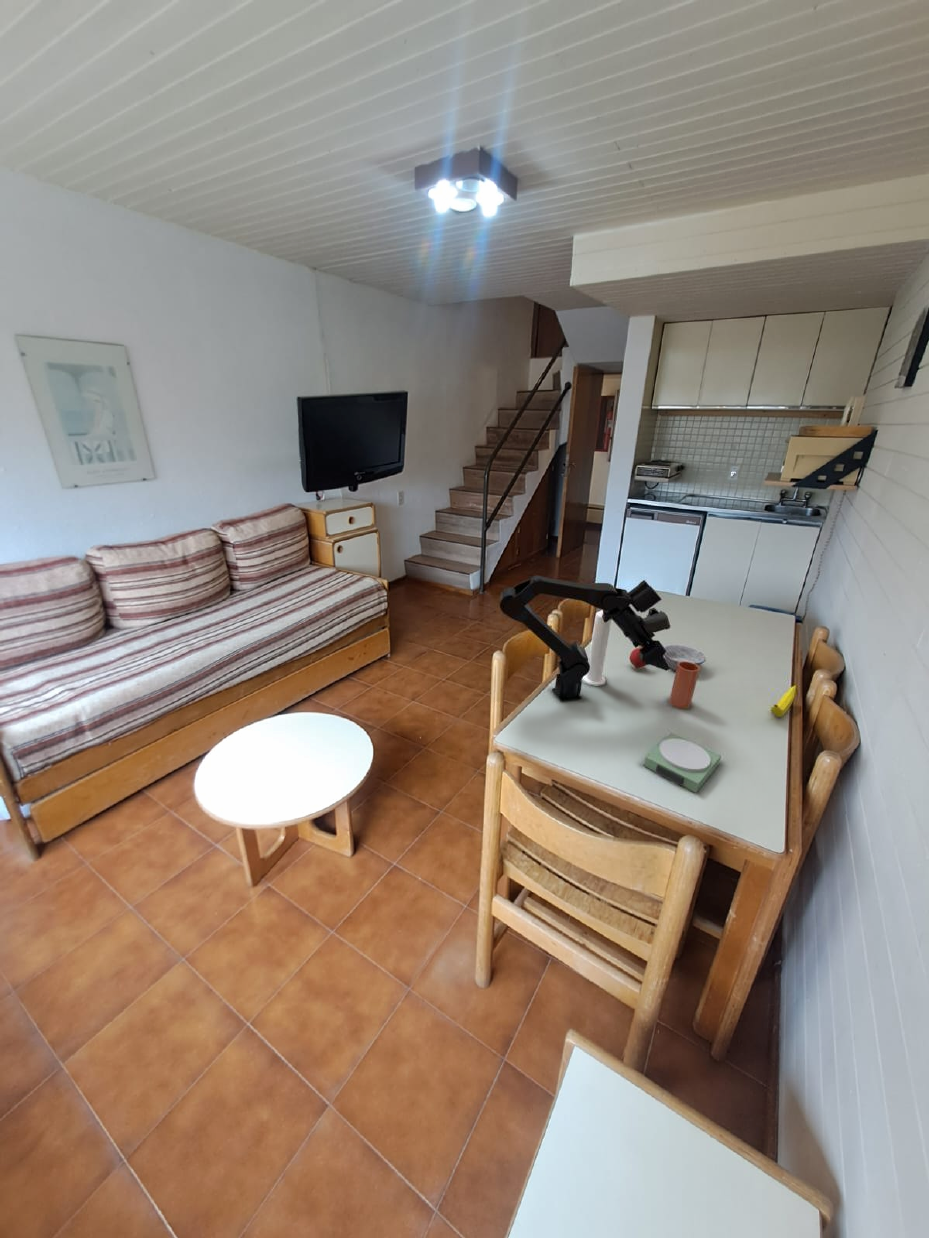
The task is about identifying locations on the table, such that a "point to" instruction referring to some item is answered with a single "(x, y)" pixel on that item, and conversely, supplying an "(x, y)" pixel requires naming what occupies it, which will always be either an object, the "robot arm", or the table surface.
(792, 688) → the banana
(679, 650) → the bowl
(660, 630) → the robot arm
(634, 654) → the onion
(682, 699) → the tumbler
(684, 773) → the scale
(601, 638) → the candle
